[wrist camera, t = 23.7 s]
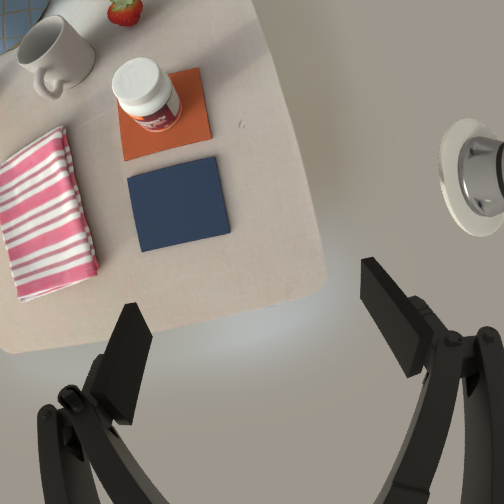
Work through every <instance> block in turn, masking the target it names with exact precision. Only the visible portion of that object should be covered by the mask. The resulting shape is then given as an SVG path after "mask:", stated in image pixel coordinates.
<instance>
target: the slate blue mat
mask: <svg viewBox="0 0 504 504" xmlns="http://www.w3.org/2000/svg"><path fill="white" fill-rule="evenodd" d="M127 181H128V187H129V193H130V198H131V204H132V209H133V214H134V219H135V224H136V229H137V233H138V238H139V242H140V247H141V251H142V252H145V251H149V250H153V249H158V248H163V247H167V246H172V245H176V244H181V243H185V242H190V241H195V240H200V239H204V238H209V237H214V236H219V235H223V234H228V233H230V230H229V225H228V220H227V215H226V210H225V205H224V200H223V195H222V190H221V185H220V180H219V175H218V170H217V165H216V159H215V157H210V158H205V159H201V160H196V161H192V162H188V163H183V164H179V165H175V166H171V167H167V168H163V169H159V170H156V171H152V172H148V173H145V174H141V175H138V176H134V177H131V178H127Z"/></svg>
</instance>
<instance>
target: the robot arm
mask: <svg viewBox="0 0 504 504" xmlns="http://www.w3.org/2000/svg"><path fill="white" fill-rule="evenodd" d="M458 179H459V184H460V188H461V192H462V194H463V197H464V199H465V201H466V203H467V205H468V206H469V207H470V209H471V210H472V211H473V212H474V213H476V214H477V215H479V216H484V217H493V216H496V215H498V214H501V213H503V212H504V142H502V141H498V140H494V139H490V138H486V137H481V136H479V137H474V138H470V139H468V140H467V141H466V142H465V143H464V144H463V145H462V147H461V150H460V152H459V157H458ZM360 299H361V300H362V302H363V303H364V305H365V307H366V308H367V310H368V311H369V313H370V315H371V316H372V318H373V320H374V321H375V323H376V325H377V326H378V328H379V330H380V331H381V333H382V335H383V336H384V338H385V340H386V341H387V343H388V345H389V347H390V348H391V350H392V352H393V353H394V355H395V357H396V359H397V361H398V362H399V364H400V366H401V368H402V369H403V371H404V373H405V375H406V377H407V378H409V377H412V376H414V375H417V374H419V373H421V371H422V368H423V365H424V366H425V368H426V370H427V373H426V375H425V378H424V381H423V387H422V390H421V393H420V396H419V400H418V403H417V406H416V409H415V412H414V415H413V418H412V420H411V423H410V426H409V429H408V431H407V434H406V437H405V439H404V442H403V444H402V447H401V449H400V451H399V454H398V456H397V458H396V461H395V463H394V465H393V467H392V470H391V471H390V474H389V476H388V478H387V480H386V482H385V484H384V486H383V488H382V490H381V492H380V493H379V495H378V497H377V499H376V500H375V502H374V503H373V504H427V502H428V499H429V495H430V492H429V488H430V485H431V482H432V479H433V477H434V474H435V472H436V469H437V466H438V463H439V460H440V457H441V454H442V451H443V448H444V445H445V441H446V438H447V434H448V431H449V427H450V423H451V419H452V415H453V411H454V406H455V401H456V397H457V391H458V386H459V380H460V378H462V384H463V395H464V413H465V459H464V474H463V486H462V495H461V503H460V504H504V348H503V345H502V341H501V337H500V335H499V333H498V331H497V330H496V329H494V328H492V327H488V326H486V327H482V328H480V329H479V331H478V333H477V335H476V336H468V337H462V335H461V334H459V333H458V332H455V331H450V330H448V329H447V328H446V327H445V326H444V324H443V323H442V322H441V321H440V319H439V318H438V317H437V316H436V314H435V313H433V311H432V310H431V308H429V306H428V305H427V304H426V302H425V301H424V300H423V299H421V298H419V297H417V296H412V297H409V298H407V296H406V295H405V294H404V293H403V291H402V290H401V289H400V288H399V287H398V285H397V284H396V283H395V282H394V281H393V280H392V278H391V277H390V276H389V275H388V274H387V273H386V271H385V270H384V269H383V268H382V266H381V265H380V264H379V263H378V262H377V261H376V260H375V258H374V257H370V258H365V259H361V288H360ZM152 338H153V336H152V334H151V332H150V330H149V328H148V326H147V324H146V322H145V320H144V318H143V316H142V314H141V312H140V310H139V307H138V305H137V303H136V302H135V303H129V304H125V305H124V308H123V310H122V312H121V314H120V317H119V319H118V321H117V323H116V326H115V328H114V330H113V333H112V335H111V338H110V340H109V343H108V345H107V347H106V350H105V353H104V354H99V355H98V356H97V358H96V359H95V360H94V361H93V364H92V366H91V368H90V369H91V370H90V371H89V373H88V376H87V378H86V381H85V384H84V386H83V389H82V391H80V390H79V388H78V387H77V386H76V385H68V386H66V387H64V388H63V389H62V390H61V391H60V392H59V394H58V402H59V403H60V404H61V405H62V406H63V407H64V408H62V409H58V410H57V409H56V408H55V407H54V406H53V405H51V404H47V405H44V406H43V407H42V408H41V409H40V410H39V412H38V415H37V432H38V451H39V463H40V473H41V480H42V488H43V493H44V500H45V504H100V500H99V497H98V494H97V490H96V487H95V483H94V479H93V475H92V471H91V467H90V463H91V465H92V467H93V469H94V471H95V472H96V474H97V476H98V478H99V480H100V482H101V483H102V485H103V487H104V489H105V490H106V492H107V494H108V495H109V497H110V499H111V500H112V502H113V503H114V504H169V503H168V502H167V500H166V499H165V498H164V497H163V496H162V494H161V493H160V492H159V491H158V489H157V488H156V487H155V486H154V484H153V483H152V482H151V480H150V479H149V478H148V477H147V475H146V474H145V473H144V471H143V470H142V469H141V467H140V466H139V464H138V463H137V461H136V460H135V459H134V457H133V456H132V454H131V453H130V451H129V450H128V448H127V447H126V445H125V444H124V442H123V441H122V439H121V437H120V436H119V434H118V433H117V431H116V429H115V428H114V427H113V426H112V421H113V419H114V420H115V421H116V422H117V423H118V424H119V425H132V422H133V417H134V412H135V408H136V403H137V399H138V394H139V390H140V385H141V381H142V377H143V373H144V369H145V365H146V361H147V357H148V353H149V349H150V345H151V342H152ZM89 461H90V463H89Z"/></svg>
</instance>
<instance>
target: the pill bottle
mask: <svg viewBox="0 0 504 504" xmlns="http://www.w3.org/2000/svg"><path fill="white" fill-rule="evenodd" d="M112 90H113V92H114V94H115V95H116V96H117V97H118V101H119V104H120V106H121V107H122V109H123V110H124V111H125V112H126V113H127V114H128V115H129V116H131V117H132V118H133V119H134V120H135V121H136V122H137V123H139V124H140V125H141V126H142V127H143V128H145V129H146V130H148V131H152V132H161V131H164V130H167V129H169V128H170V127H172V126H173V125H174V124H175V123H176V122H177V120H178V119H179V117H180V115H181V111H182V105H181V101H180V99H179V96H178V94H177V92H176V90H175V88H174V86H173V84H172V82H171V80H170V78H169V76H168V75H167V74H166V72H165V71H163V70H162V69H160V68H159V66H158V65H157V63H156V62H155V61H153V60H152V59H150V58H146V57H139V58H134V59H131V60H129V61H127V62H126V63H124V64H123V65H122V66H121V67H120V68H119V69H118V70H117V71H116V73H115V75H114V77H113V80H112Z"/></svg>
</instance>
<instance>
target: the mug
mask: <svg viewBox="0 0 504 504" xmlns="http://www.w3.org/2000/svg"><path fill="white" fill-rule="evenodd" d="M17 61H18V63H19V64H20V65H21V66H22V67H24V68H25V69H27V70H29V71H30V72H32V73H33V74H34V88H35V90H36V92H37V93H38V94H39V95H40V96H42V97H43V98H45V99H48V100H56V99H58V98H59V97H60V96H61V94H62V90H66V89H70V88H72V87H74V86H76V85H78V84H79V83H80V82H81V81H83V80H84V79H85V78H86V76H87V75H88V74H89V72H90V71H91V69H92V67H93V65H94V61H95V53H94V50H93V49H92V47H91V46H90V45H89V44H88V43H87V42H86V41H85V40H84V39H83V38H82V37H81V36H80V35H79V34H78V33H77V32H76V31H75V29H74V28H73V27H72V26H71V25H70V24H69V23H68V22H67V21H66V20H65V19H64V18H63V17H62V16H59V15H53V16H49V17H47V18H44V19H43V20H41V21H40V22H38V23H37V24H36V25H34V26H33V27H32V28H31V29H30V30H29V31H28V33H27V34H26V35H25V37H24V38H23V40H22V41H21V43H20V45H19V48H18V51H17ZM44 80H45V81H46V82H48V83H49V84H51V85H52V86H54V89H53V93H52V92H50V91H49V90H48V89H47V88H46V87H45V85H44Z"/></svg>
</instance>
